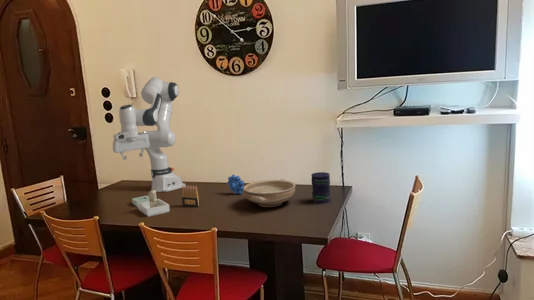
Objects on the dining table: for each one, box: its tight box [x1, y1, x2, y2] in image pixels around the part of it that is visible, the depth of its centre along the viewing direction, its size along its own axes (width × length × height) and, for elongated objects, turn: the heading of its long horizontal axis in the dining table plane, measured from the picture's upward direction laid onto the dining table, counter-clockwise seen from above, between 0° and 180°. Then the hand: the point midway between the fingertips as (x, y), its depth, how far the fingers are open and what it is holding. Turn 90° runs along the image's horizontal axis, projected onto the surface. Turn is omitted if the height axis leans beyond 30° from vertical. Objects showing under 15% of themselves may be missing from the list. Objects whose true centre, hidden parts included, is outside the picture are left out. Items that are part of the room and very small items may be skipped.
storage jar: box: [311, 171, 332, 205], centre depth 225 cm, size 10×10×15 cm
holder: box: [131, 195, 149, 208], centre depth 246 cm, size 9×9×3 cm
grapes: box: [227, 174, 245, 195], centre depth 251 cm, size 12×7×12 cm, turn 65°
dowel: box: [147, 190, 158, 208], centre depth 228 cm, size 4×4×10 cm
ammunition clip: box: [181, 185, 201, 208], centre depth 233 cm, size 11×2×12 cm, turn 65°
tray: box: [137, 198, 171, 218], centre depth 229 cm, size 12×16×4 cm
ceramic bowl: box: [242, 178, 296, 208], centre depth 228 cm, size 37×29×10 cm
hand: (133, 157), depth 239 cm, fingers open, 8 cm apart
